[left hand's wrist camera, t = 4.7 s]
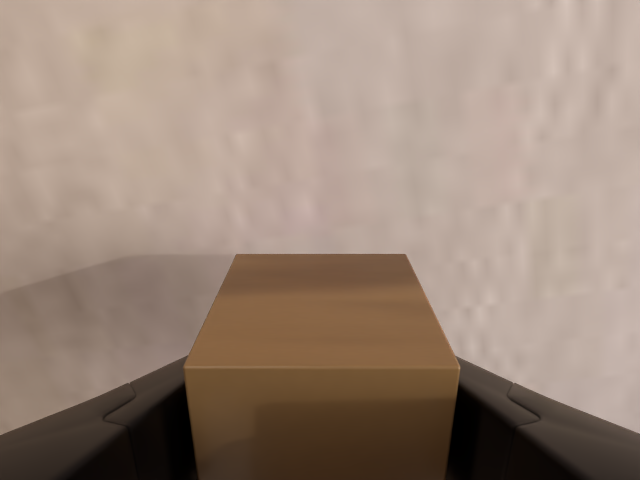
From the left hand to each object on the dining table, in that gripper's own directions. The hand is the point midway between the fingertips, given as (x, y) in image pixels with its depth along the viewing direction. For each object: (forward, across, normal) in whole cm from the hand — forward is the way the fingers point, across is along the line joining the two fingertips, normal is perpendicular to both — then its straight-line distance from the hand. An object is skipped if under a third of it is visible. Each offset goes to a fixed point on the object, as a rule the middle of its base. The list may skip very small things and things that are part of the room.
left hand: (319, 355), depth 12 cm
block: (+1, 0, 0) cm, 1 cm away
